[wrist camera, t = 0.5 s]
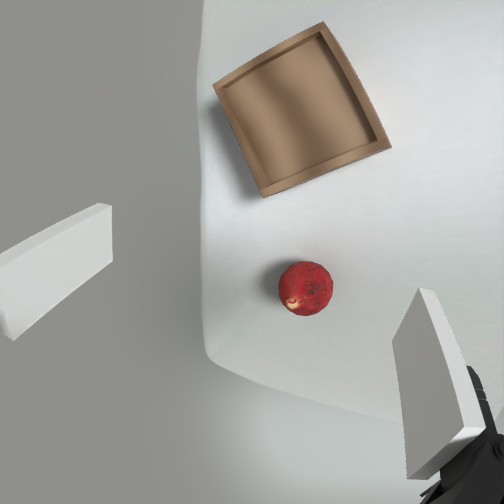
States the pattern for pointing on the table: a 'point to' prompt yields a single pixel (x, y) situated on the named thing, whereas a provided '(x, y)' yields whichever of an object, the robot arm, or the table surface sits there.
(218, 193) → the table surface
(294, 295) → the onion
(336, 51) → the walnut tray
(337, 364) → the table surface
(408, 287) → the table surface
